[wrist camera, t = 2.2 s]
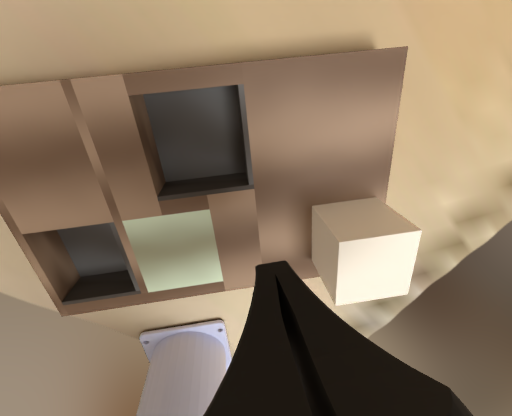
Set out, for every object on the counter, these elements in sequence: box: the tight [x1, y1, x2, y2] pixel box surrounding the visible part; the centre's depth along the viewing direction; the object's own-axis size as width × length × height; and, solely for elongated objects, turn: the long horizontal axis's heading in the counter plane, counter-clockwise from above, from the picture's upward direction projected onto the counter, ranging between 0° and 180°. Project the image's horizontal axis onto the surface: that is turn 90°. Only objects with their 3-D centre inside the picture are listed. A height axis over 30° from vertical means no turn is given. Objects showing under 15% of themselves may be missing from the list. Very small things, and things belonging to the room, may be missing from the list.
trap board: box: [0, 46, 408, 316], centre depth 18 cm, size 15×24×3 cm, turn 95°
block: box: [312, 197, 422, 306], centre depth 16 cm, size 4×4×4 cm
